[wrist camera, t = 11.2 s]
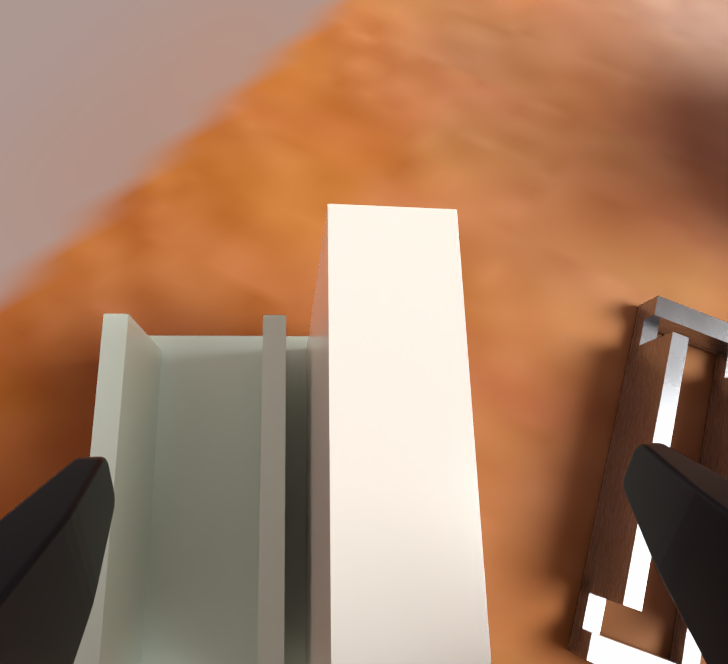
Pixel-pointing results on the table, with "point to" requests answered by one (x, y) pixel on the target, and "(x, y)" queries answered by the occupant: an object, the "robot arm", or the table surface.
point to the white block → (391, 447)
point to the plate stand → (632, 427)
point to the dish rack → (201, 498)
